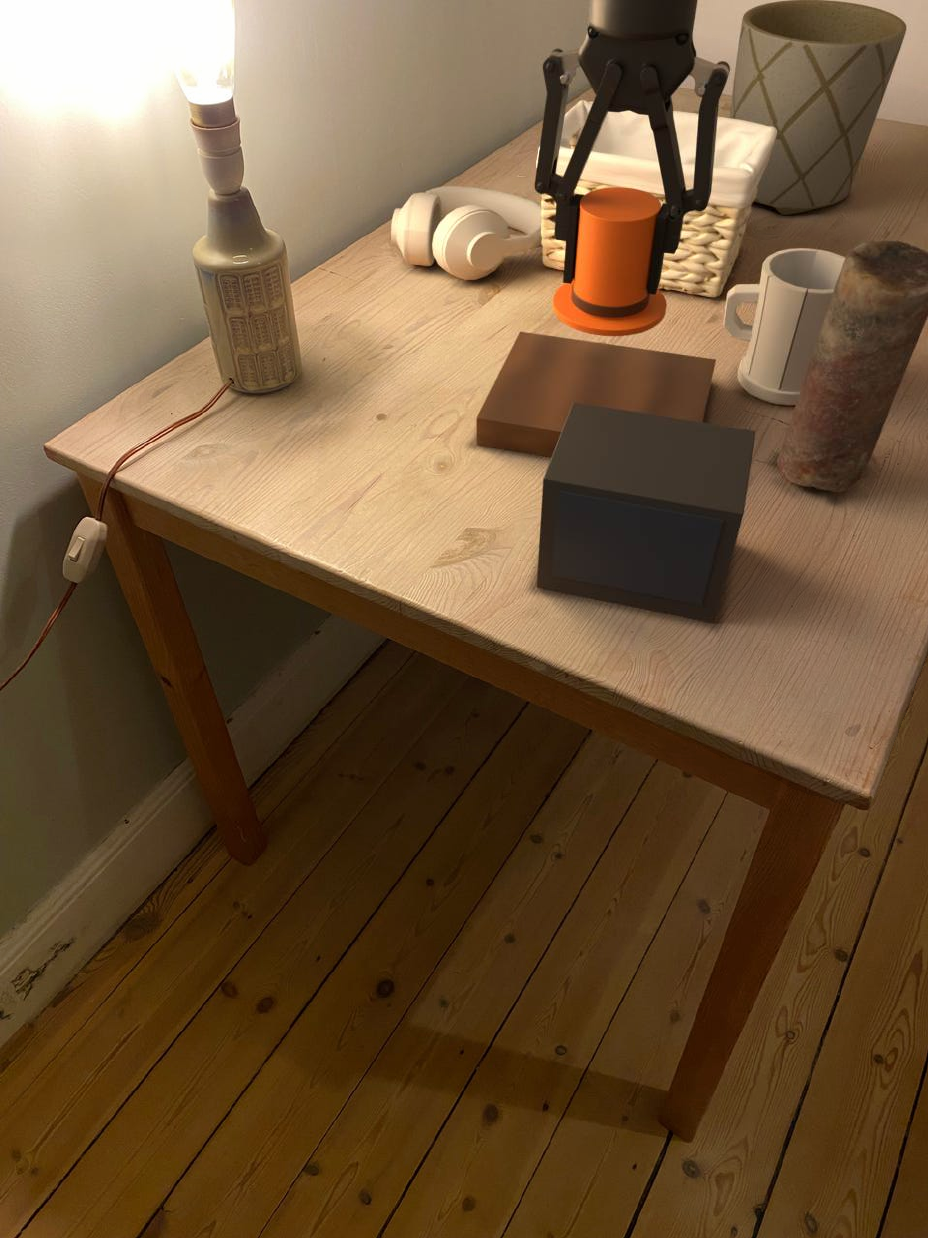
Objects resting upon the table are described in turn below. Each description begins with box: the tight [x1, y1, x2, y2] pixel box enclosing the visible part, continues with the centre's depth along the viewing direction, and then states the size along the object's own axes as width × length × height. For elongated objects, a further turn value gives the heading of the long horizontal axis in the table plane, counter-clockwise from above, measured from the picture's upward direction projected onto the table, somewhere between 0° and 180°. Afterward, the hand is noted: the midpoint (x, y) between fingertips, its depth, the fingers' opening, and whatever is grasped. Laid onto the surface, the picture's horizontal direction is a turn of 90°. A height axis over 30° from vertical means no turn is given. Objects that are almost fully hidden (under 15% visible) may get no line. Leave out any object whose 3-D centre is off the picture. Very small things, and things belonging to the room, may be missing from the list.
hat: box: [552, 187, 668, 337], centre depth 78 cm, size 10×10×9 cm
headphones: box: [390, 185, 543, 281], centre depth 111 cm, size 18×8×20 cm
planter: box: [728, 0, 907, 216], centre depth 117 cm, size 19×19×20 cm
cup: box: [722, 247, 846, 407], centre depth 88 cm, size 10×9×12 cm
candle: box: [776, 240, 928, 493], centre depth 75 cm, size 8×7×20 cm
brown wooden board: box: [475, 331, 717, 458], centre depth 88 cm, size 20×16×3 cm
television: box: [536, 402, 757, 624], centre depth 71 cm, size 14×10×11 cm
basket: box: [535, 99, 777, 298], centre depth 105 cm, size 24×16×15 cm
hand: (611, 280), depth 79 cm, fingers closed on hat, 7 cm apart
